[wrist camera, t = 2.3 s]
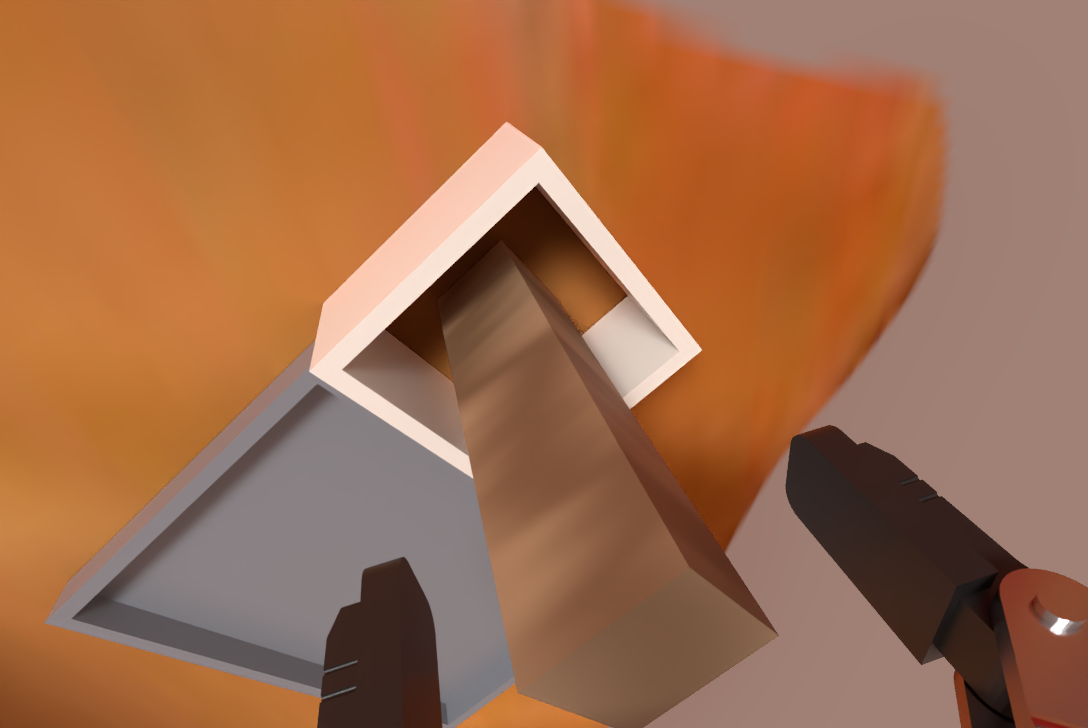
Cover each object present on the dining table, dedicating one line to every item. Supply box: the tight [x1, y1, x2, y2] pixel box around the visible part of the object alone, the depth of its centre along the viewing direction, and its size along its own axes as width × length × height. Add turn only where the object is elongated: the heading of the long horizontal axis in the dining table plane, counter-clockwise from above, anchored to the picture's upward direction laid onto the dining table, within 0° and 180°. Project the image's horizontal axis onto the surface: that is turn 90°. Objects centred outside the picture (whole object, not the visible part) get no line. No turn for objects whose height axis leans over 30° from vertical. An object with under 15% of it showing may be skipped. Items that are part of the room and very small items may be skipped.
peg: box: [436, 240, 778, 728], centre depth 14 cm, size 3×3×14 cm
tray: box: [44, 340, 516, 728], centre depth 25 cm, size 15×21×2 cm
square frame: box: [309, 122, 702, 478], centre depth 18 cm, size 9×9×4 cm
